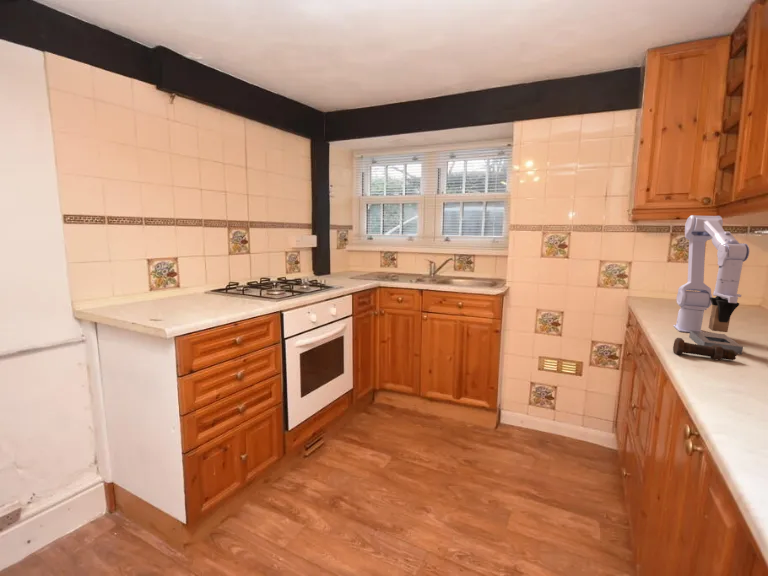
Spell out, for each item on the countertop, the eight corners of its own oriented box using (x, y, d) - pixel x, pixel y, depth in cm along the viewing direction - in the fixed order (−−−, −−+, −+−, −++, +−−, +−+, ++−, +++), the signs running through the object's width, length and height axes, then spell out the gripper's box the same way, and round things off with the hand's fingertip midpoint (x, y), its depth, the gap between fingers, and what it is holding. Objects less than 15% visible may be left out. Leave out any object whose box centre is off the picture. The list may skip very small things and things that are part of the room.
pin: (708, 327, 136) (712, 305, 135) (722, 329, 135) (727, 306, 133) (712, 330, 133) (716, 307, 131) (727, 332, 131) (731, 308, 130)
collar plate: (689, 336, 146) (690, 330, 145) (723, 341, 142) (724, 334, 141) (703, 349, 131) (704, 342, 131) (741, 354, 127) (743, 346, 127)
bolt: (733, 368, 120) (673, 358, 126) (729, 355, 124) (671, 346, 130) (740, 355, 117) (679, 345, 123) (736, 342, 120) (677, 334, 126)
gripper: (753, 284, 123) (744, 327, 125) (734, 278, 136) (727, 317, 138) (724, 282, 125) (716, 324, 128) (708, 276, 139) (702, 314, 141)
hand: (720, 320), depth 133 cm, fingers closed on pin, 4 cm apart
